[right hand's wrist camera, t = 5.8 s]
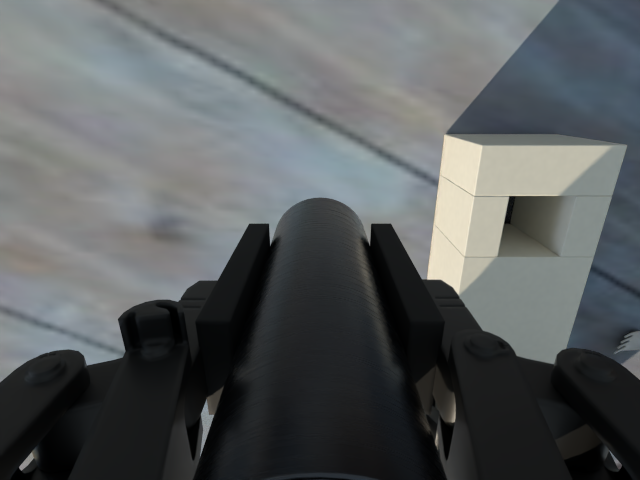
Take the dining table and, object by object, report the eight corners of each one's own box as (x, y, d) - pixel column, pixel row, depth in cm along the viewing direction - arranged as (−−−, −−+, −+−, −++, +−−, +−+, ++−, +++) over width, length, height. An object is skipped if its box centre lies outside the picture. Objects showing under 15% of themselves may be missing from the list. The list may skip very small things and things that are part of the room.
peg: (272, 197, 15) (140, 476, 4) (367, 197, 15) (500, 476, 4) (276, 281, 17) (189, 656, 6) (363, 281, 17) (451, 658, 5)
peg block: (444, 134, 32) (481, 144, 25) (557, 133, 32) (628, 144, 25) (412, 395, 43) (432, 457, 36) (496, 395, 43) (533, 457, 36)
